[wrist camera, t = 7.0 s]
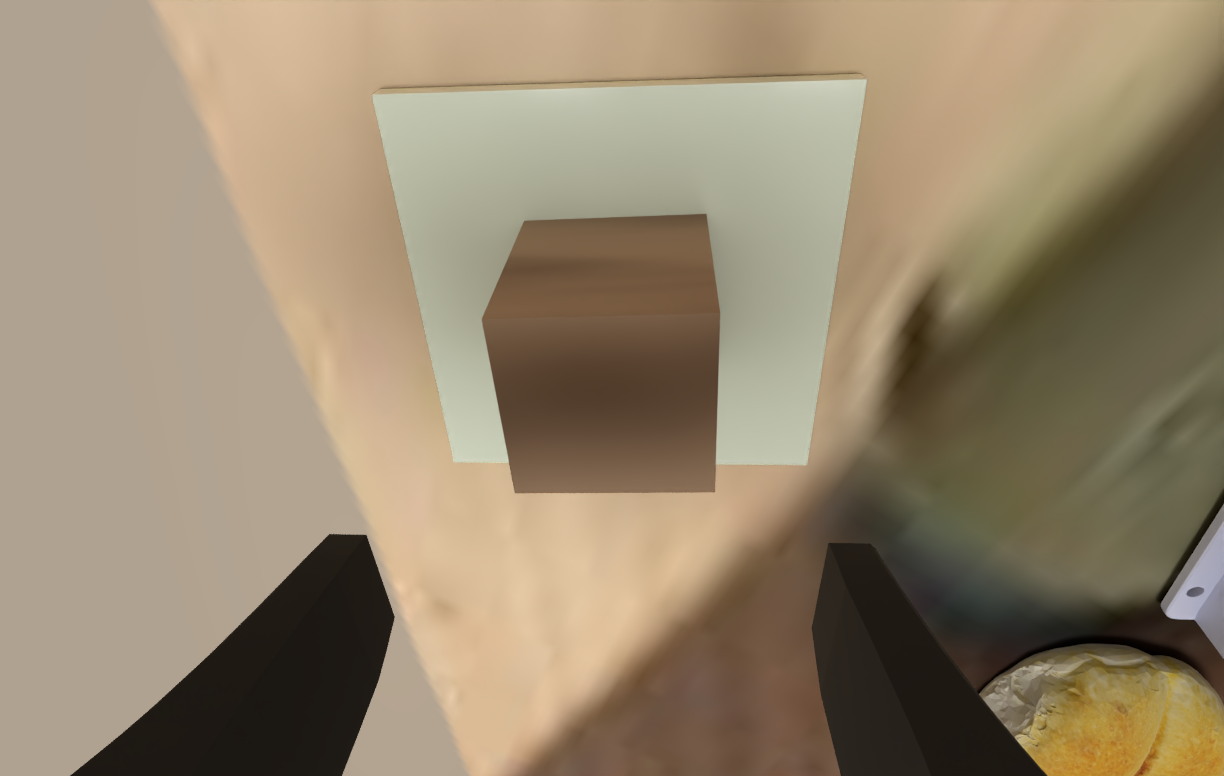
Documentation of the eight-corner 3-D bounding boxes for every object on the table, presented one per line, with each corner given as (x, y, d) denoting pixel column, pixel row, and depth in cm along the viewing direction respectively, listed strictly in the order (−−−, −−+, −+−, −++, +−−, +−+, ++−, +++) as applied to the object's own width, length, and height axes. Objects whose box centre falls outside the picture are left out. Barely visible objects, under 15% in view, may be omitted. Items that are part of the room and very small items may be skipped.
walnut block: (704, 368, 20) (714, 492, 15) (545, 371, 20) (515, 492, 16) (706, 213, 17) (720, 313, 13) (524, 220, 17) (481, 319, 13)
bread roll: (1100, 768, 32) (1150, 868, 28) (930, 718, 30) (962, 818, 27) (1258, 672, 27) (1341, 779, 24) (1067, 608, 26) (1126, 712, 22)
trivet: (803, 452, 22) (806, 465, 21) (458, 450, 23) (454, 462, 22) (860, 73, 16) (867, 79, 15) (380, 88, 16) (371, 94, 16)
